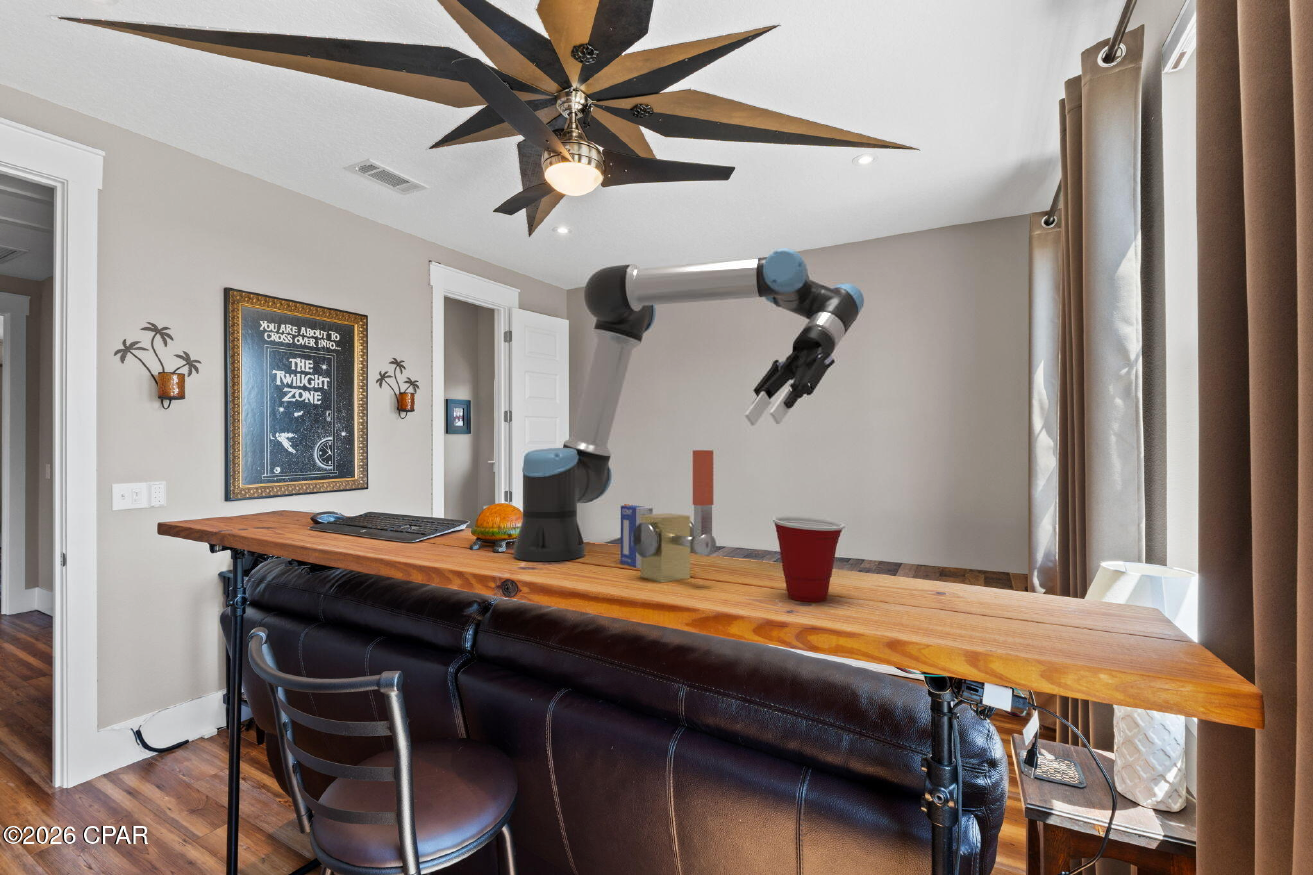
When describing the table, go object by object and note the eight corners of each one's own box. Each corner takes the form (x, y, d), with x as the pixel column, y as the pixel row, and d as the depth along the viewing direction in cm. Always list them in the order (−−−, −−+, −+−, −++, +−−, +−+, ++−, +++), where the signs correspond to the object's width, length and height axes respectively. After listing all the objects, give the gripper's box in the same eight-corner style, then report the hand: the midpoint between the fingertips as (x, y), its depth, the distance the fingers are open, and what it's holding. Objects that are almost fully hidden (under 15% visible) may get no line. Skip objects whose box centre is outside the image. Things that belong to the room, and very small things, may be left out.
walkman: (620, 563, 117) (620, 503, 117) (631, 561, 119) (632, 503, 119) (641, 569, 111) (641, 506, 111) (653, 567, 112) (653, 505, 113)
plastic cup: (825, 611, 80) (824, 524, 81) (758, 598, 87) (758, 518, 88) (858, 597, 88) (857, 518, 89) (794, 586, 95) (794, 513, 96)
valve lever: (690, 555, 95) (689, 450, 96) (706, 553, 97) (706, 450, 98) (699, 557, 93) (699, 450, 94) (716, 555, 95) (715, 450, 96)
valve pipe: (633, 578, 102) (633, 515, 103) (676, 571, 108) (676, 512, 109) (673, 589, 93) (673, 521, 94) (717, 581, 99) (717, 517, 100)
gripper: (866, 348, 109) (812, 432, 99) (790, 361, 124) (736, 435, 113) (849, 316, 106) (792, 399, 96) (773, 333, 121) (716, 407, 110)
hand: (761, 419), depth 105 cm, fingers open, 5 cm apart
